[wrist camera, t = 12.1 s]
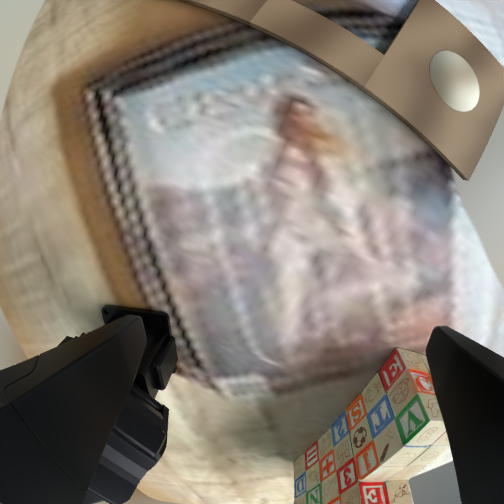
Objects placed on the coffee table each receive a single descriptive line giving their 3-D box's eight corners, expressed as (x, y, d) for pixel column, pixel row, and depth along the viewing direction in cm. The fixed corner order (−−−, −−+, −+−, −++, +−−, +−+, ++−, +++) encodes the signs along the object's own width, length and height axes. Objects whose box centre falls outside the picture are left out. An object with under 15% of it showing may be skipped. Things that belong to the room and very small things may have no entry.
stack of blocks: (394, 344, 23) (446, 451, 11) (438, 357, 23) (490, 446, 12) (292, 462, 30) (293, 542, 18) (333, 467, 30) (341, 541, 19)
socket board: (507, 80, 14) (513, 79, 13) (462, 179, 18) (468, 180, 17) (219, -89, 11) (218, -94, 10) (138, -10, 14) (133, -14, 14)
